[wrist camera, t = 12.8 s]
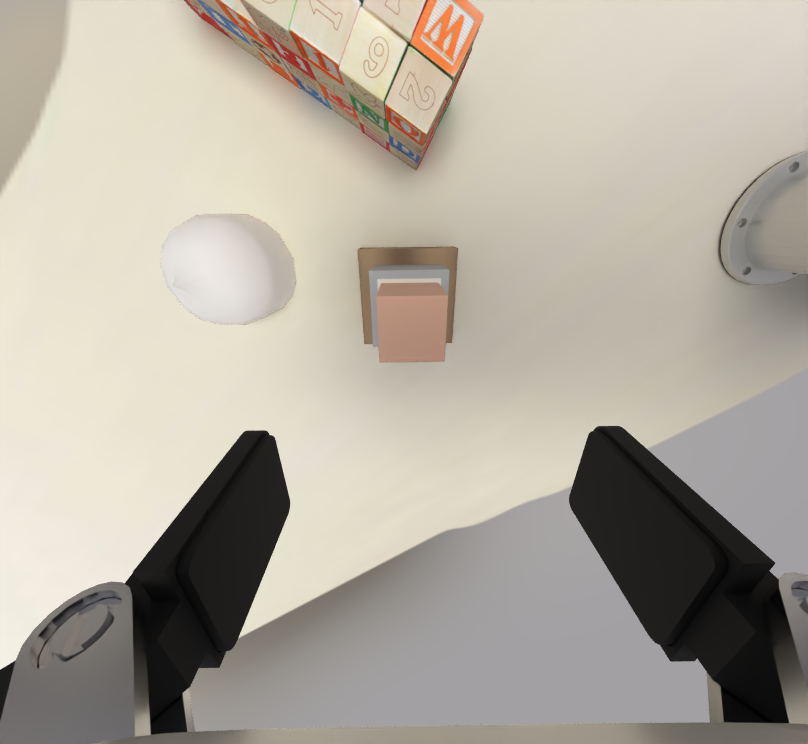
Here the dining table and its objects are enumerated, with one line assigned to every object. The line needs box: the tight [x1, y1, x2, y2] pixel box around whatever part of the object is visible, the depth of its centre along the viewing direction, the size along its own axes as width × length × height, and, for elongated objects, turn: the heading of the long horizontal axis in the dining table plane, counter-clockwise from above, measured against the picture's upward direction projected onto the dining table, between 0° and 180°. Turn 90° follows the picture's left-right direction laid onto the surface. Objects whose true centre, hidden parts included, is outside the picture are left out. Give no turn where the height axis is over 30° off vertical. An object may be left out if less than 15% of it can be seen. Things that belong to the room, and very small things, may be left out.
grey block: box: [369, 264, 449, 347], centre depth 30 cm, size 7×7×5 cm
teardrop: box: [161, 214, 296, 325], centre depth 28 cm, size 11×11×12 cm
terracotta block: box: [376, 282, 448, 362], centre depth 25 cm, size 5×5×6 cm
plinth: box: [358, 247, 458, 344], centre depth 33 cm, size 10×10×3 cm
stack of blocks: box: [184, 0, 484, 170], centre depth 21 cm, size 21×6×12 cm, turn 60°
